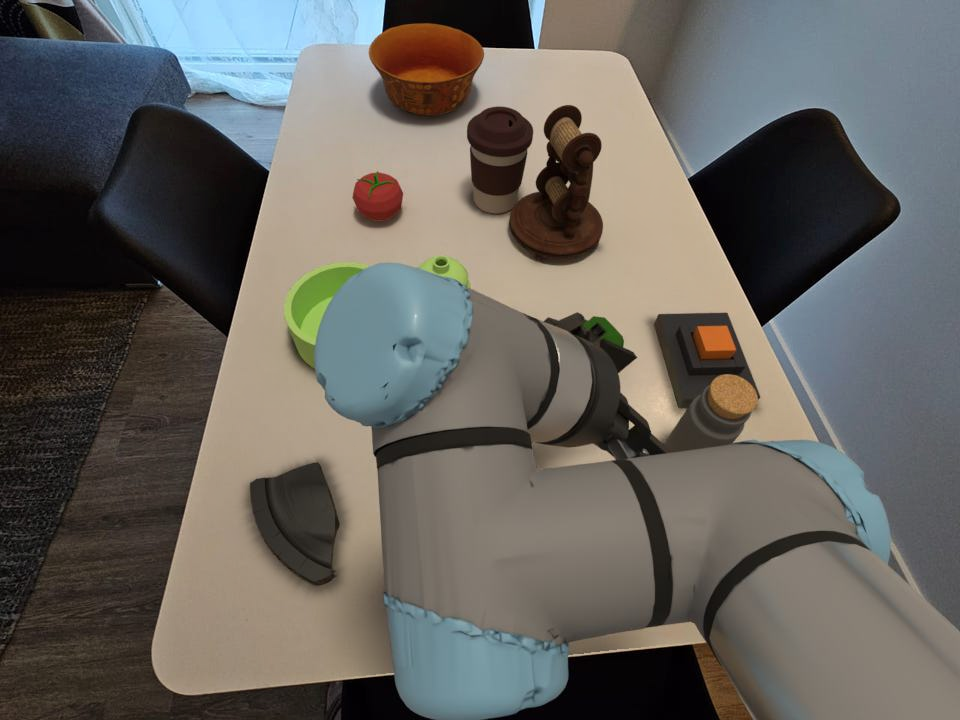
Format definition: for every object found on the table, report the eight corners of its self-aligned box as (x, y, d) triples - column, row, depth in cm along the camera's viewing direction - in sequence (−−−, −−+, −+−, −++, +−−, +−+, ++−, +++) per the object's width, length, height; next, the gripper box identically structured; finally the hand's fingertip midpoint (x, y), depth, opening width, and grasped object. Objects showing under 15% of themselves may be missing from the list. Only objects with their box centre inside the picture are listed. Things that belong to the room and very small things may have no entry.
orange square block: (730, 359, 74) (736, 350, 72) (700, 360, 74) (706, 350, 72) (721, 335, 76) (727, 325, 75) (692, 335, 76) (697, 326, 74)
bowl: (492, 81, 117) (495, 30, 109) (467, 140, 105) (468, 88, 97) (395, 65, 119) (390, 14, 111) (360, 122, 107) (352, 69, 99)
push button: (753, 405, 74) (767, 389, 71) (678, 408, 74) (689, 391, 70) (721, 322, 82) (732, 304, 79) (653, 323, 82) (662, 305, 78)
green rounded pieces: (291, 379, 74) (265, 318, 64) (298, 295, 82) (276, 229, 72) (482, 365, 76) (486, 303, 66) (470, 284, 85) (472, 219, 74)
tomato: (348, 223, 91) (340, 184, 85) (366, 193, 96) (360, 154, 89) (395, 234, 90) (390, 195, 84) (411, 203, 95) (408, 164, 88)
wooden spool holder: (615, 255, 89) (650, 142, 73) (527, 274, 86) (543, 160, 70) (577, 196, 97) (602, 82, 81) (496, 211, 94) (504, 96, 78)
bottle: (652, 443, 70) (694, 376, 58) (693, 431, 72) (743, 363, 59) (675, 485, 67) (725, 425, 55) (718, 472, 69) (775, 409, 56)
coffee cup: (453, 204, 95) (453, 121, 82) (487, 174, 100) (492, 92, 87) (503, 228, 92) (510, 147, 80) (535, 196, 97) (547, 115, 84)
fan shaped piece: (275, 604, 58) (270, 600, 57) (250, 488, 65) (246, 482, 64) (354, 571, 60) (351, 567, 59) (322, 462, 67) (319, 456, 66)
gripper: (433, 291, 44) (568, 345, 61) (601, 600, 32) (716, 564, 48) (498, 221, 41) (622, 297, 58) (713, 530, 29) (794, 516, 45)
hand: (665, 418), depth 53 cm, fingers open, 13 cm apart
